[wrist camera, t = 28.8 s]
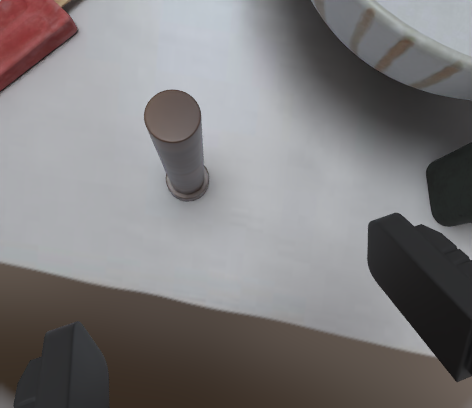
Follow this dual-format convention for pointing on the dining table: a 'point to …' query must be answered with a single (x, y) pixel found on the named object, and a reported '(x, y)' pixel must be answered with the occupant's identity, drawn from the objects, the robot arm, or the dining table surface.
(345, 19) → the dishware bowl
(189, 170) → the brown flanged cylinder
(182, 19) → the dining table surface
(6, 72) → the popsicle
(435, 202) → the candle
